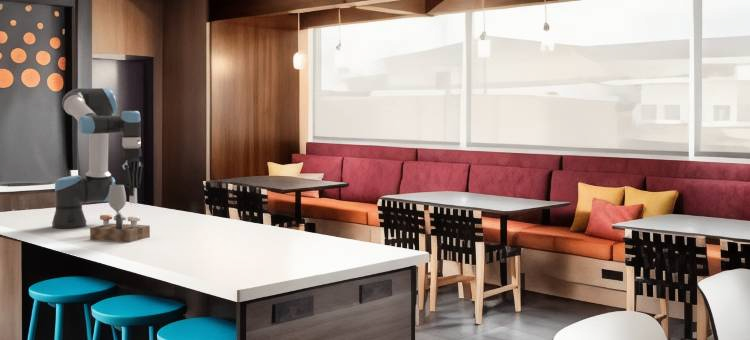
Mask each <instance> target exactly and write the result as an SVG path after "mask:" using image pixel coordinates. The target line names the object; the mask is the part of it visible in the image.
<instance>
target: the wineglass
mask: <svg viewBox="0 0 750 340" xmlns="http://www.w3.org/2000/svg"><path fill="white" fill-rule="evenodd" d="M125 188H126V187H125V184H115V185H110V188H109V196H108V201H107V202H108V204H109V206H110V207H111V208H112V209H113V210H114V212H115V213H116V214H117V212H121V210H122V209H123V208H124V207H125V205H126V203H127V194H126V189H125Z"/></svg>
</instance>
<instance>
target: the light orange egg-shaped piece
mask: <svg viewBox="0 0 750 340" xmlns="http://www.w3.org/2000/svg"><path fill="white" fill-rule="evenodd" d="M99 220H100V221H101V220H102V222H103V223H102V225H103V226H104V227H108V226H109V224H110V220H113V215H112V214H100V215H99Z"/></svg>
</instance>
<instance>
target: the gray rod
mask: <svg viewBox="0 0 750 340" xmlns="http://www.w3.org/2000/svg"><path fill="white" fill-rule="evenodd" d="M115 216H116V220H115V224H116V229H122V213H121V211H119V212H117V213H116V214H115Z"/></svg>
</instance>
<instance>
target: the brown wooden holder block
mask: <svg viewBox="0 0 750 340" xmlns="http://www.w3.org/2000/svg"><path fill="white" fill-rule="evenodd" d="M150 228H151V227H150V225H149V224H148V225H146V224H137V228H131V223H130V224H128V223H123V227H122V229H116V223H111V222H109V226H108V227H104V226H103V224H102V225H97V226H93V227H89V235H90V236H89V237H90V238H89V240H93V241H108V242H122V243H123V242H125V243H126V242H127V243H132V242H133V243H134V242H137V241H139V240H140V241H141V240H143V239H144V240H145V239H148V238H150V237H151V236H150V235H151V231H150Z"/></svg>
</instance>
